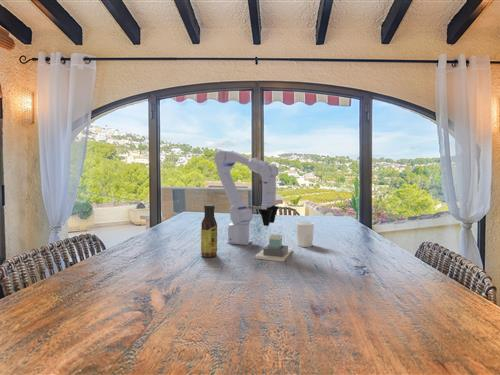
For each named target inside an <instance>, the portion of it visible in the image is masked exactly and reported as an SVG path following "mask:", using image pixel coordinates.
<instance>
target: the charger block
mask: <svg viewBox="0 0 500 375" xmlns="http://www.w3.org/2000/svg"><path fill="white" fill-rule="evenodd" d="M268 240H269V242H268V245H269V248H270V249H280V250H281V249H282V245H283V234H275V233H274V234H271V235H269V239H268Z"/></svg>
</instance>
